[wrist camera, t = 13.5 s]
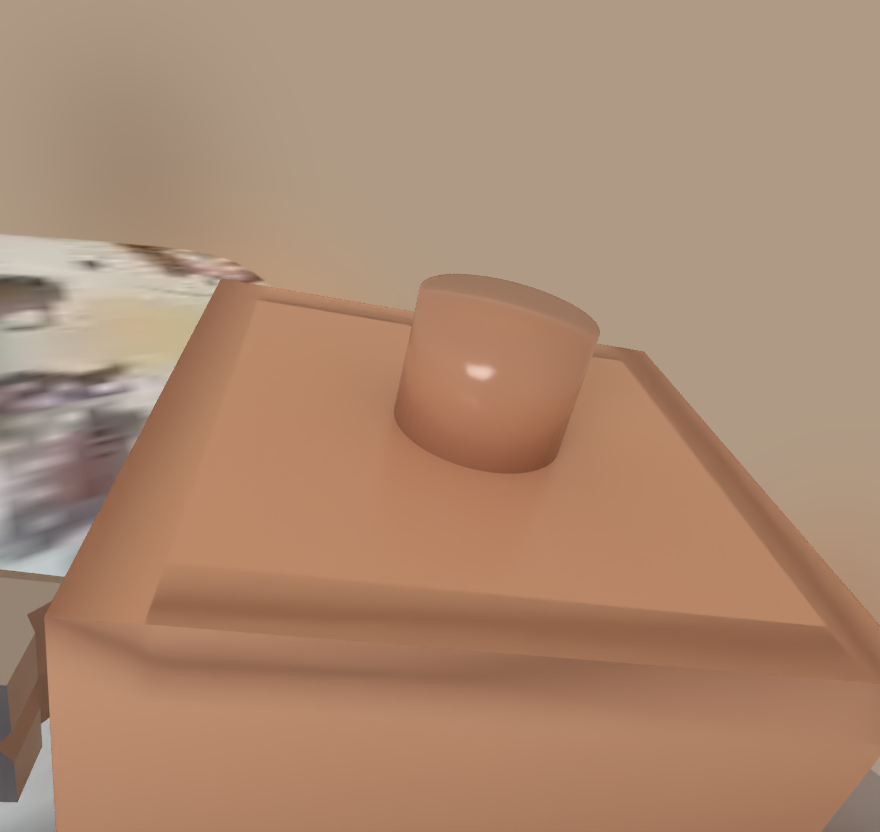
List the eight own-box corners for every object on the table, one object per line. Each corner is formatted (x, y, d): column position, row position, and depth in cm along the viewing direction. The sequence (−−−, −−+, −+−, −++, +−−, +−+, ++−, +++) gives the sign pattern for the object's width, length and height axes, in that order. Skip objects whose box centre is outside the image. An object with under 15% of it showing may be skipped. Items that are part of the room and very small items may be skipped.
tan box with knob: (79, 1267, 9) (33, 420, 3) (179, 822, 14) (229, 178, 8) (510, 1231, 10) (1039, 550, 4) (459, 830, 15) (676, 267, 9)
